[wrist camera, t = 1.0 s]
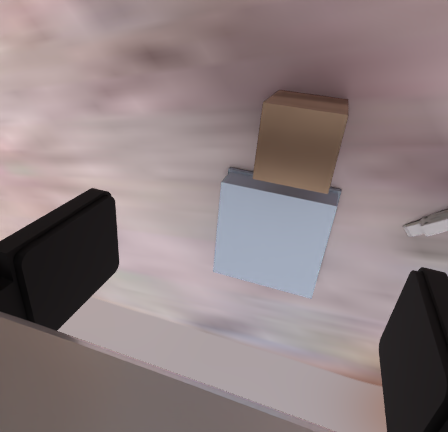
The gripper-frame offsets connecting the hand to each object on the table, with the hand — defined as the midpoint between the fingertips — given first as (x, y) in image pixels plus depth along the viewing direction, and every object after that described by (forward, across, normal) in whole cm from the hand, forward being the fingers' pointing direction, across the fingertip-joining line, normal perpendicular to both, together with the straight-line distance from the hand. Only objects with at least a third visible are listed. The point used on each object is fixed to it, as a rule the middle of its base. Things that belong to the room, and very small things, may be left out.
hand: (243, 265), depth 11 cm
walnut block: (+19, 0, 0) cm, 19 cm away
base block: (+18, +1, +9) cm, 21 cm away
